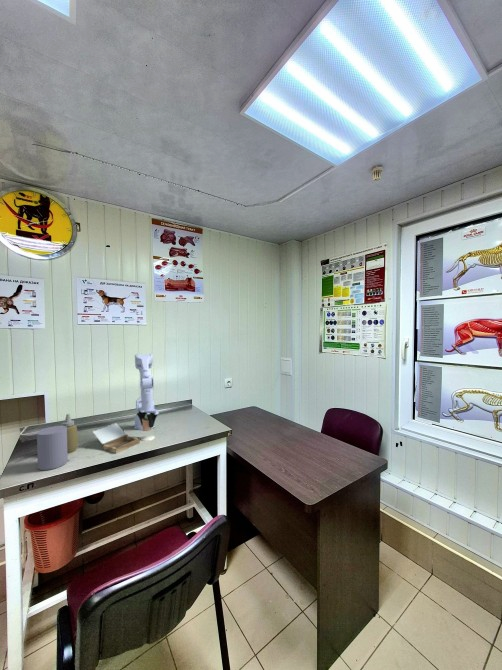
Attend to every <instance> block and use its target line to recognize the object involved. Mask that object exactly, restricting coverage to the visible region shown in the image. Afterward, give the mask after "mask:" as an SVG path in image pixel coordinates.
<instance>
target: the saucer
mask: <svg viewBox="0 0 502 670" xmlns="http://www.w3.org/2000/svg"><path fill="white" fill-rule="evenodd" d="M155 437H156V436H155V435H152V434H150V435H149V434H148V435H144V436H142V437H141V438H140V441H142V442H149V441H152V440H154V439H155Z"/></svg>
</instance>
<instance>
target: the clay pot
mask: <svg viewBox="0 0 502 670" xmlns="http://www.w3.org/2000/svg"><path fill="white" fill-rule="evenodd" d="M147 415H149V414H146V415H145V418H142V422H143V424H142V430H143V431H142V430H141V431H142V432H149V431H151V430H152V429H153V428H152V427H151V428H150V427H149V420H148V417H147Z"/></svg>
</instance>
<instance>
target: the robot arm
mask: <svg viewBox="0 0 502 670" xmlns="http://www.w3.org/2000/svg"><path fill="white" fill-rule="evenodd" d="M153 357H154V356H153V354H152V353H139V354H138V353H135V355H134V366H135V369H136V370H138V371H139V377H140V379H139V388H140V397H139V398H137V400H136V402H135V413H136V414H135V416H134V427H133V429H134V430H138V431H142V432H144V431H143V430H142V424H143V422H142V418H145V415H146V414H149V415H147V417H148V420H149V427H150V428H151V427H152V429H153V428H155V427H156V425H155V421H156V419H157V417H158V416H159V413H160V412H159V409H157V408H155V400H154V391H153V389H154V386H155V385H154V384H155V381H154V378H153V376H152V370H151V368H152V367H153V362H154V361H153V360H154V358H153Z"/></svg>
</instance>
